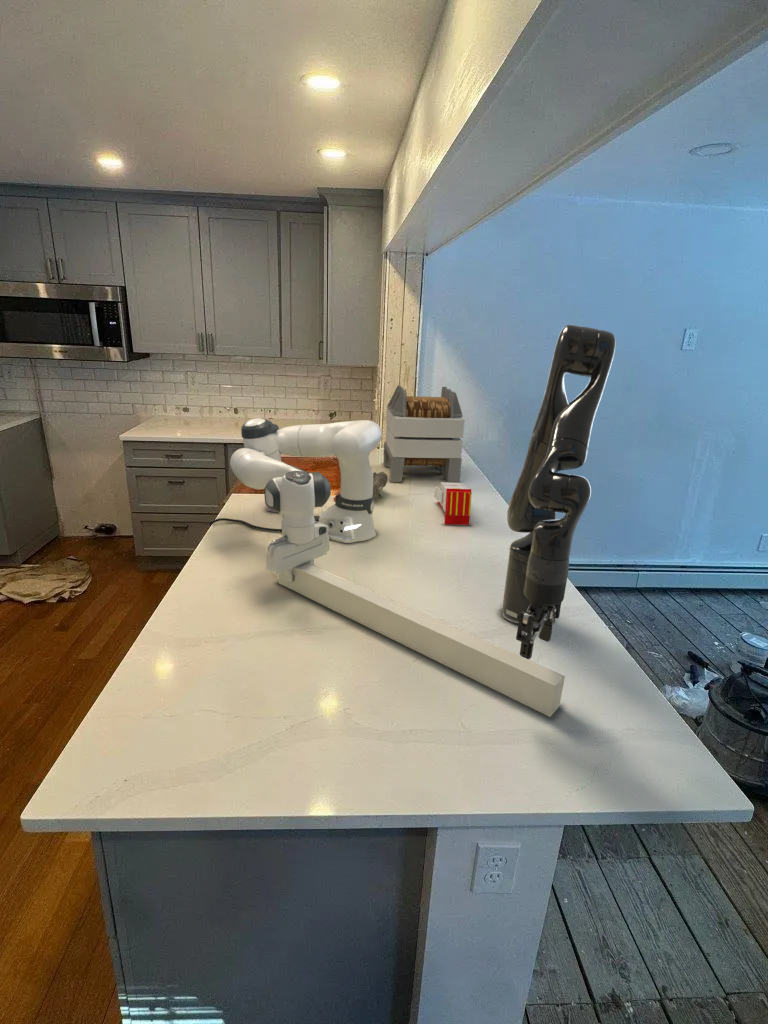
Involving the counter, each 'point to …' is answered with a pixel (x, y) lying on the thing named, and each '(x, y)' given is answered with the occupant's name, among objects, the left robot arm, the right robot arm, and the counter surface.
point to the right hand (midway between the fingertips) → (535, 648)
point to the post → (433, 638)
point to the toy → (454, 502)
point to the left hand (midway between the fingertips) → (298, 577)
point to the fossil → (379, 482)
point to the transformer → (424, 434)
